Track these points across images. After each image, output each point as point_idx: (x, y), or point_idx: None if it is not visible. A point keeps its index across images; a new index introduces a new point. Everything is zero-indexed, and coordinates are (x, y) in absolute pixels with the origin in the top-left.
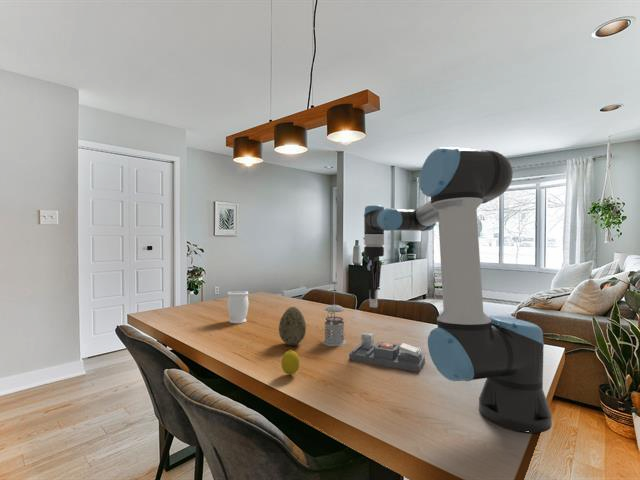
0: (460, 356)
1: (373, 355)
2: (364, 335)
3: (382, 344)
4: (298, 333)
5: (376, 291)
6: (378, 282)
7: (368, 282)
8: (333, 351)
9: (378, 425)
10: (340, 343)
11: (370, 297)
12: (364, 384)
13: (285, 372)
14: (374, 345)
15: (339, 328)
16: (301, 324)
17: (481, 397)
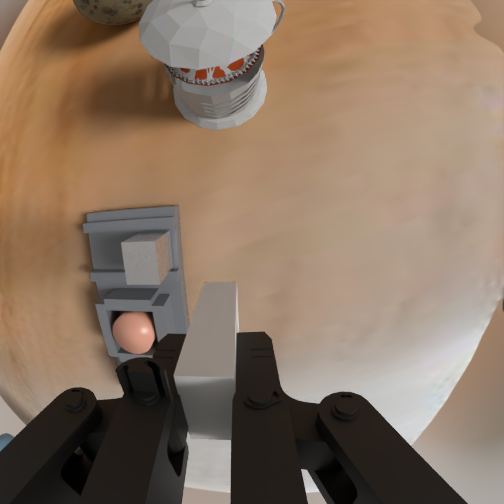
0: None
1: (113, 287)
2: (124, 255)
3: (126, 323)
4: (92, 19)
5: (194, 432)
6: (329, 501)
7: (17, 460)
8: (129, 132)
9: None
10: (198, 118)
11: (160, 343)
12: (24, 300)
13: None
14: (172, 272)
15: (187, 96)
16: (92, 3)
17: (78, 448)
